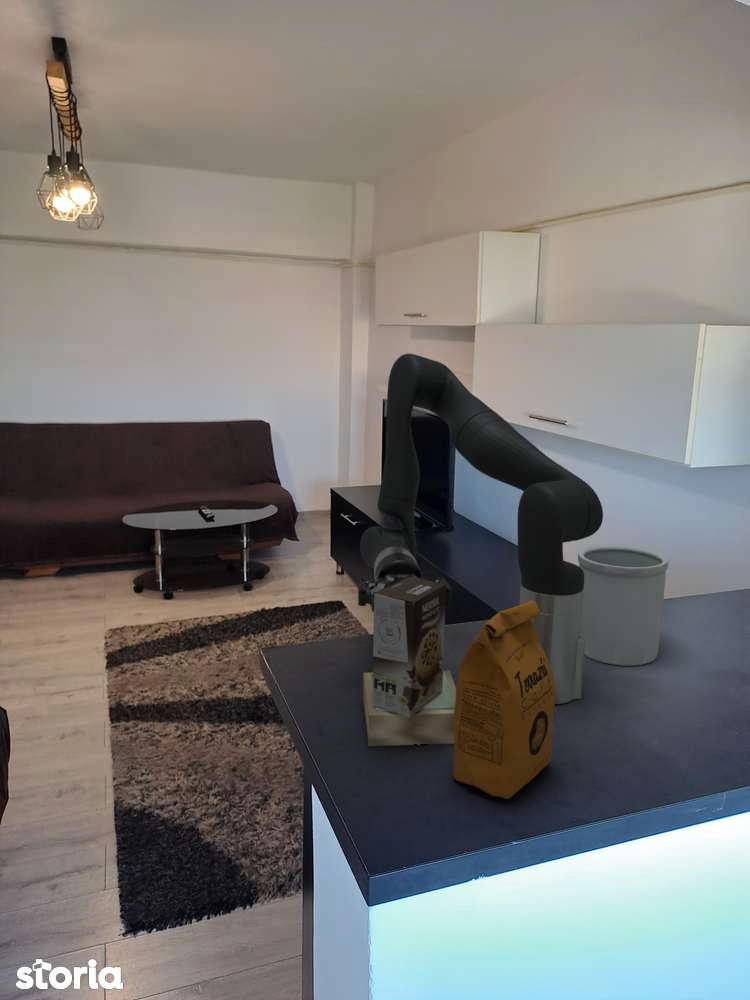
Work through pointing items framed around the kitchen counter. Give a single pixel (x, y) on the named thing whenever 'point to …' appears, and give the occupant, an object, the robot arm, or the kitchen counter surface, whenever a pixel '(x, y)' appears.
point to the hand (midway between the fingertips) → (408, 608)
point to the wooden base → (411, 719)
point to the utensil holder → (622, 603)
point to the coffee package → (504, 705)
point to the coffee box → (408, 645)
